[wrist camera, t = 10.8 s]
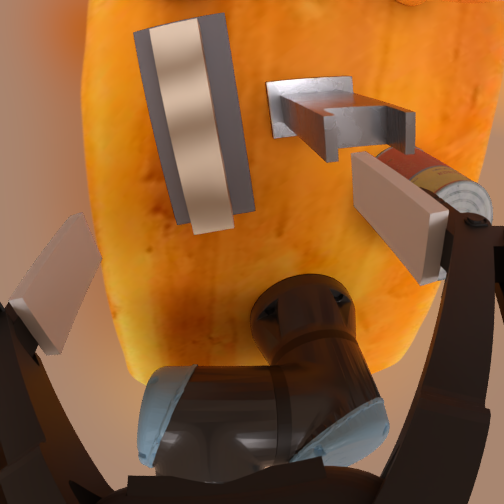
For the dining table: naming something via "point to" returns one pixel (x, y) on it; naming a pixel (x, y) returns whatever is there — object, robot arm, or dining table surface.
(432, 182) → the canned food
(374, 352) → the dining table surface
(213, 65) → the mat
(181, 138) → the rail
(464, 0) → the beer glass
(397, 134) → the stand
